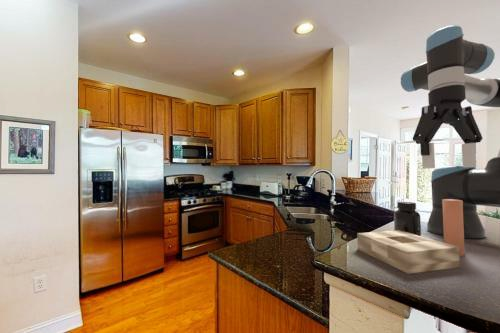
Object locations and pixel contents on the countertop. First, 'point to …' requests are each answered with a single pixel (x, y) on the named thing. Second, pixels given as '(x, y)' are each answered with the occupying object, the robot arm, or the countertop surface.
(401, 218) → the supplement bottle
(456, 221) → the terracotta dowel
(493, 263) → the countertop surface
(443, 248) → the bore block
